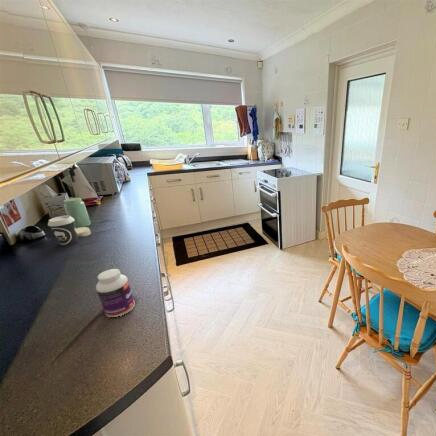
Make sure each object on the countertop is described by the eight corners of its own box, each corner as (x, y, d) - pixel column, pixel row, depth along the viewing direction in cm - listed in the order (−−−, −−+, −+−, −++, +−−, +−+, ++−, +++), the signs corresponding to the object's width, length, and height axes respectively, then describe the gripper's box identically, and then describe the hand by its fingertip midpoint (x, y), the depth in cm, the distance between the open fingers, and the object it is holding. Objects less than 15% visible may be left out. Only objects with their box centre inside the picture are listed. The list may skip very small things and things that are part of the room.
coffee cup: (84, 245, 117) (74, 218, 112) (59, 252, 111) (47, 223, 105) (81, 239, 123) (71, 213, 118) (56, 246, 116) (45, 218, 111)
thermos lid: (94, 231, 133) (92, 226, 132) (83, 238, 124) (81, 233, 123) (76, 232, 131) (74, 227, 130) (63, 239, 123) (61, 234, 122)
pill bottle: (136, 312, 76) (125, 275, 70) (106, 323, 71) (91, 285, 66) (134, 298, 82) (124, 263, 76) (106, 307, 77) (93, 271, 72)
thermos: (67, 228, 137) (57, 201, 130) (79, 222, 145) (70, 197, 139) (83, 228, 137) (74, 201, 131) (94, 222, 145) (86, 197, 139)
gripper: (76, 140, 124) (89, 179, 132) (11, 141, 113) (29, 183, 121) (72, 141, 118) (85, 182, 126) (3, 142, 107) (22, 186, 115)
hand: (58, 183), depth 124 cm, fingers open, 13 cm apart
